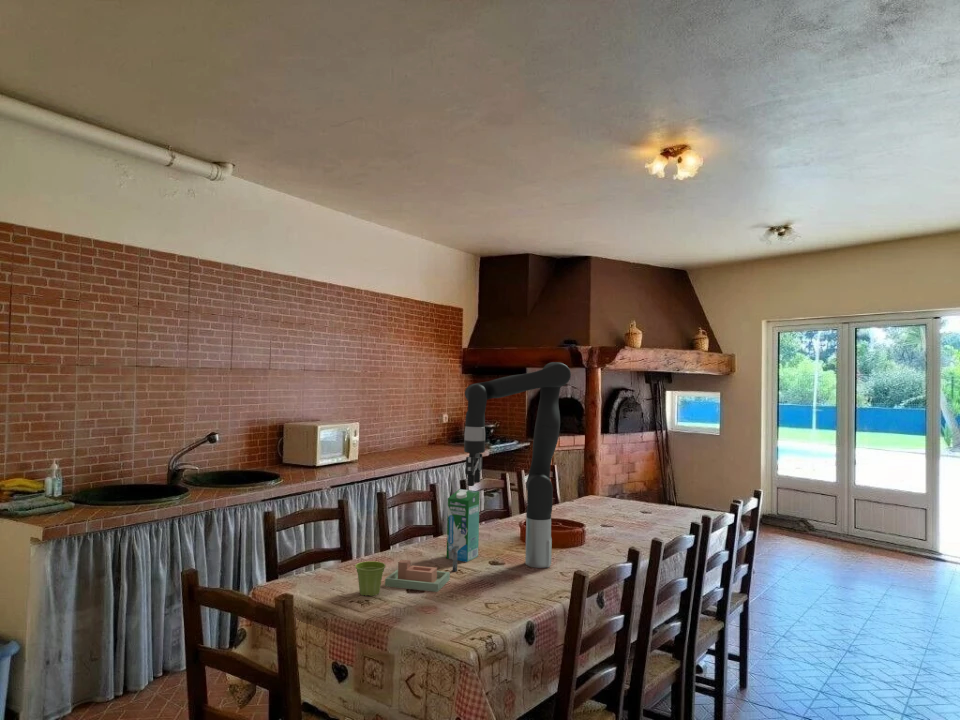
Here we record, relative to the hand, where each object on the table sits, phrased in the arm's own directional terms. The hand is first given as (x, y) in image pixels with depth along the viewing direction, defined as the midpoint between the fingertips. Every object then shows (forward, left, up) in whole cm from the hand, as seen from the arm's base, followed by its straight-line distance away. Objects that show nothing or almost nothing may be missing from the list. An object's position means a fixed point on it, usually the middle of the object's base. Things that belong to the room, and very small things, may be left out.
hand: (473, 484), depth 223 cm
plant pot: (+24, +35, -30) cm, 52 cm away
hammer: (+5, +5, -30) cm, 31 cm away
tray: (+13, +21, -30) cm, 39 cm away
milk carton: (+7, -12, -30) cm, 33 cm away
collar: (+13, +21, -29) cm, 39 cm away
